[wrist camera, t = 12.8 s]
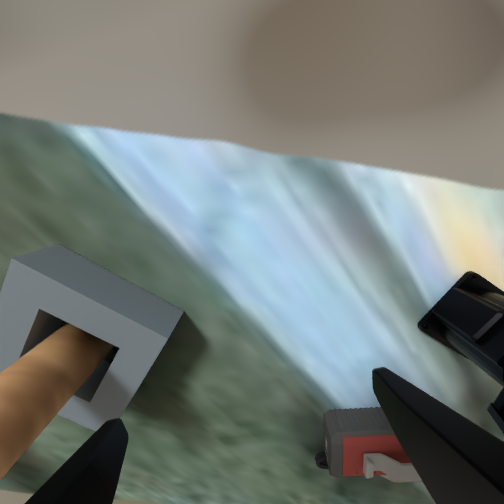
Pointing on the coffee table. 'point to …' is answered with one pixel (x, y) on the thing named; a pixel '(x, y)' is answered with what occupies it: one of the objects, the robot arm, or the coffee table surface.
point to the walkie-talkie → (363, 446)
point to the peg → (43, 386)
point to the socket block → (84, 325)
